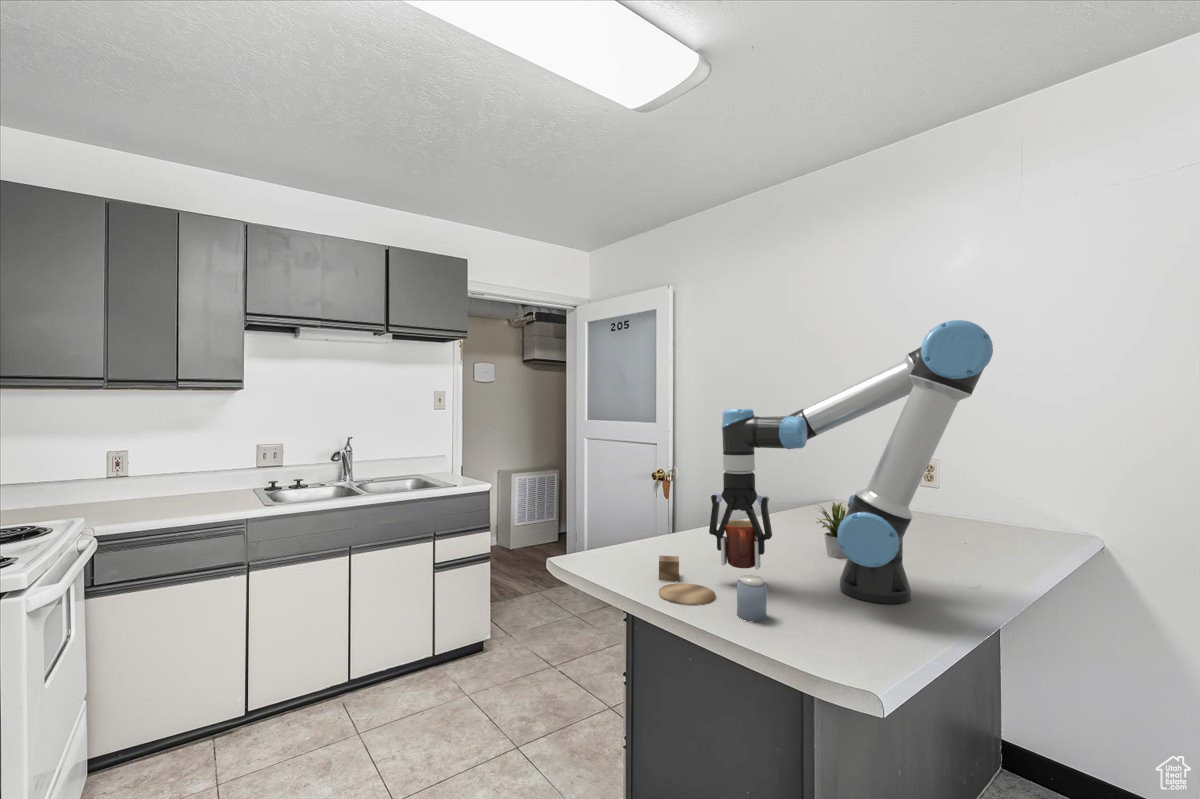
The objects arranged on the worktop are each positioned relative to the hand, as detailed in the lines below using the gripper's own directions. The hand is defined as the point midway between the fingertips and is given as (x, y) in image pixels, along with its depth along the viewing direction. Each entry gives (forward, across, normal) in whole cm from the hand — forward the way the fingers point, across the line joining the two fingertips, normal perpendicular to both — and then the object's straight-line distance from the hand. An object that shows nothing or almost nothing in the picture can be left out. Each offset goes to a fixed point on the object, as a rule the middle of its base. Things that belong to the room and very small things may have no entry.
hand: (740, 565), depth 135 cm
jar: (+5, -6, +18) cm, 20 cm away
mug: (+1, 0, 0) cm, 1 cm away
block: (+5, +18, +2) cm, 19 cm away
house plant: (+6, -18, -43) cm, 47 cm away
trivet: (+5, +10, +12) cm, 16 cm away
